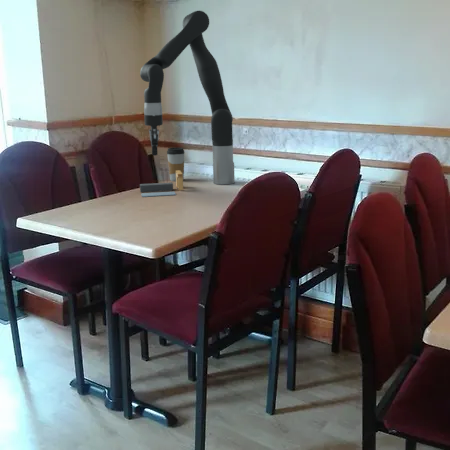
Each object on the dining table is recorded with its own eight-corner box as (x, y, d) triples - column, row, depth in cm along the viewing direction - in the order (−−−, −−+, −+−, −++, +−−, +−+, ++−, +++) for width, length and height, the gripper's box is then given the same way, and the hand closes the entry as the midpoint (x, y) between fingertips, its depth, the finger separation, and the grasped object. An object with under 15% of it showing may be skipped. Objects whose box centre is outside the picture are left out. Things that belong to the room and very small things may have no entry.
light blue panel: (174, 192, 243) (174, 191, 243) (175, 195, 238) (175, 194, 237) (141, 194, 241) (141, 193, 241) (141, 197, 235) (141, 196, 235)
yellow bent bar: (180, 185, 256) (180, 170, 255) (183, 190, 247) (182, 174, 245) (176, 186, 256) (175, 170, 254) (178, 190, 246) (177, 174, 245)
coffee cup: (166, 179, 275) (164, 148, 271) (183, 178, 277) (182, 147, 273) (170, 182, 267) (168, 150, 263) (187, 180, 269) (186, 149, 266)
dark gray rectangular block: (172, 189, 251) (172, 182, 251) (173, 191, 248) (172, 183, 247) (140, 191, 249) (139, 184, 248) (140, 193, 245) (140, 185, 245)
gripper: (143, 112, 246) (145, 153, 250) (144, 115, 233) (146, 157, 237) (161, 112, 247) (162, 152, 251) (163, 114, 234) (164, 156, 238)
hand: (154, 155), depth 244 cm, fingers closed
